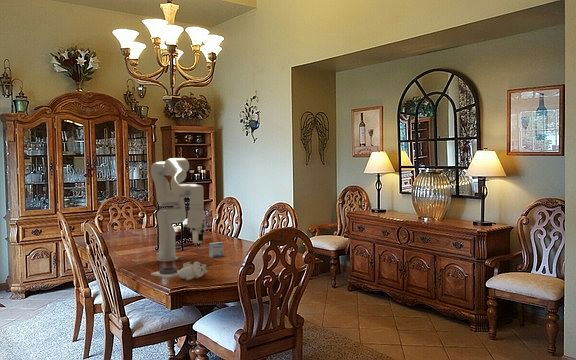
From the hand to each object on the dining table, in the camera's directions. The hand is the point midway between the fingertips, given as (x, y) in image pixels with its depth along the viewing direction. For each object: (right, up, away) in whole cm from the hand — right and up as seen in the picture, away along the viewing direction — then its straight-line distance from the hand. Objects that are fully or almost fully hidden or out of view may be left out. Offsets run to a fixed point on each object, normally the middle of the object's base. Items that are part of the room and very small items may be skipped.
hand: (197, 239), depth 282 cm
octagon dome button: (-14, -18, -7) cm, 24 cm away
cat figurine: (+1, -19, -16) cm, 25 cm away
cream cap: (0, -2, 0) cm, 2 cm away
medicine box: (+5, -15, +40) cm, 43 cm away
